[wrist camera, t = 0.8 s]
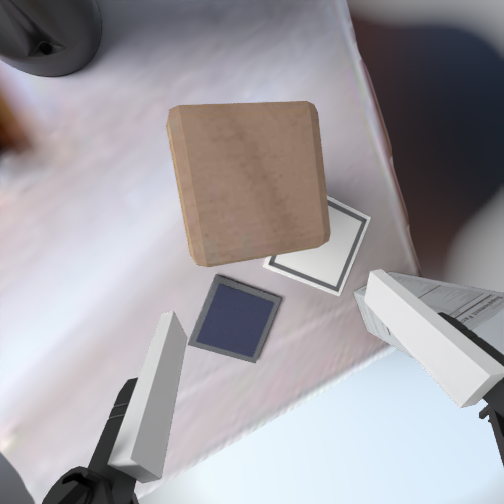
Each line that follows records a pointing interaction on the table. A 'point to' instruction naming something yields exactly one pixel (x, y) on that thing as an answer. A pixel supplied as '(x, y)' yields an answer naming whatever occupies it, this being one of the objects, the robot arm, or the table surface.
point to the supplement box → (445, 308)
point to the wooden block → (249, 179)
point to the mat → (326, 252)
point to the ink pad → (234, 320)
